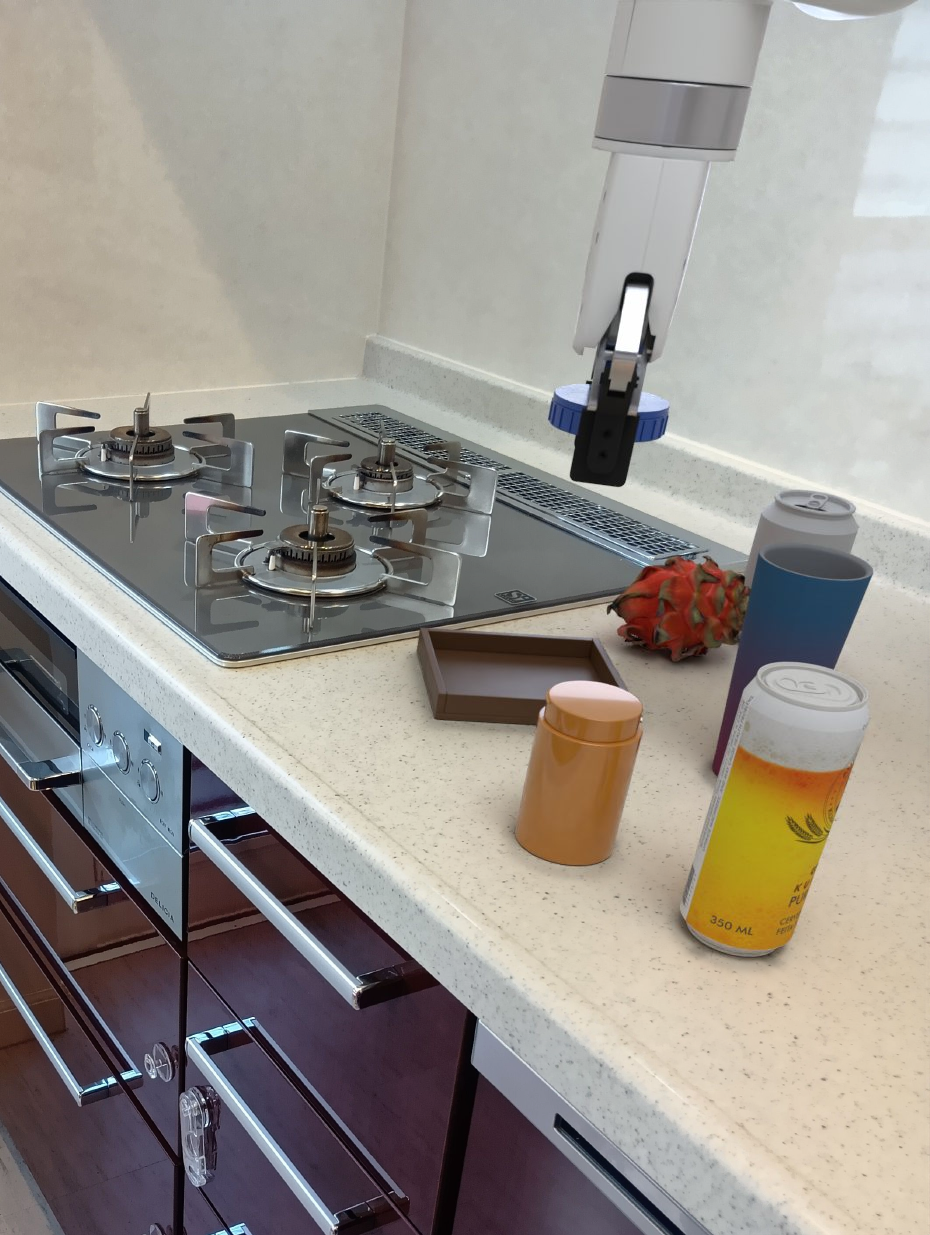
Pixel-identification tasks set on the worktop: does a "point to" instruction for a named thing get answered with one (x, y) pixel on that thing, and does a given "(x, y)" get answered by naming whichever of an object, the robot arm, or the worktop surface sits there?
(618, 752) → the jar
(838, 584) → the cup
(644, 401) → the lid
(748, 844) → the beer can
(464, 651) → the tray
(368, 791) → the worktop surface
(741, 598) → the dragon fruit
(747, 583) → the can
